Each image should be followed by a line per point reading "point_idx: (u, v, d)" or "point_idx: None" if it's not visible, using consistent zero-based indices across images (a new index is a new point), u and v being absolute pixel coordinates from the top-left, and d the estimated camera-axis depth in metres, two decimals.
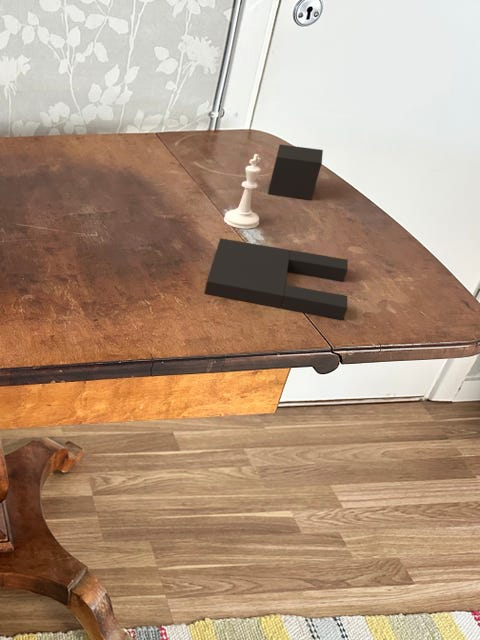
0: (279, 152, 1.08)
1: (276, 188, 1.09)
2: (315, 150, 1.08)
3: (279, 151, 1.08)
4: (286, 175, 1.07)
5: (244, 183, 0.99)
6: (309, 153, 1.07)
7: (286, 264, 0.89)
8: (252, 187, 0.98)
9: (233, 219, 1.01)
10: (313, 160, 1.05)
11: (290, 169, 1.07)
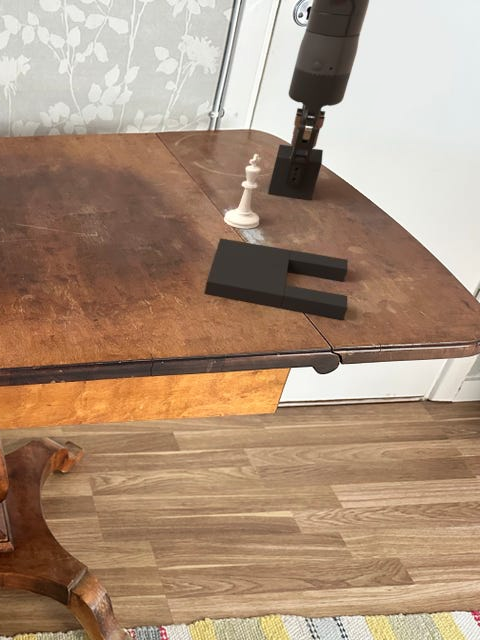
0: (279, 152, 1.08)
1: (276, 188, 1.09)
2: (315, 150, 1.08)
3: (279, 151, 1.08)
4: (286, 175, 1.07)
5: (244, 183, 0.99)
6: None
7: (286, 264, 0.89)
8: (252, 187, 0.98)
9: (233, 219, 1.01)
10: (313, 160, 1.05)
11: None
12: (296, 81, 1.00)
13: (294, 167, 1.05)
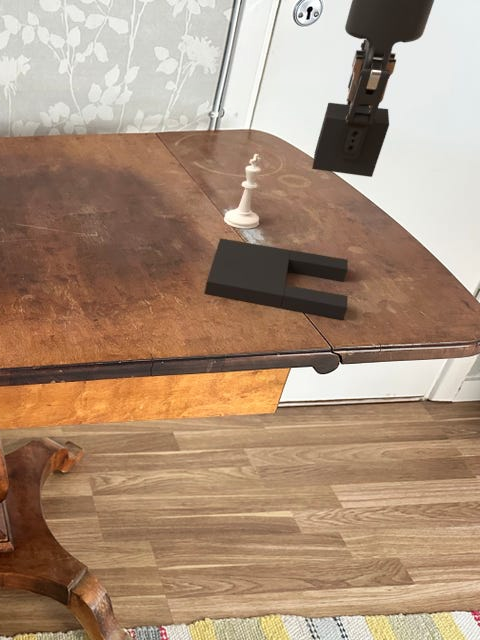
0: (329, 112, 0.79)
1: (324, 161, 0.81)
2: (378, 109, 0.80)
3: (329, 110, 0.80)
4: (338, 143, 0.79)
5: (244, 183, 0.99)
6: None
7: (286, 264, 0.89)
8: (252, 187, 0.98)
9: (233, 219, 1.01)
10: (377, 121, 0.77)
11: None
12: (358, 9, 0.72)
13: (351, 131, 0.76)
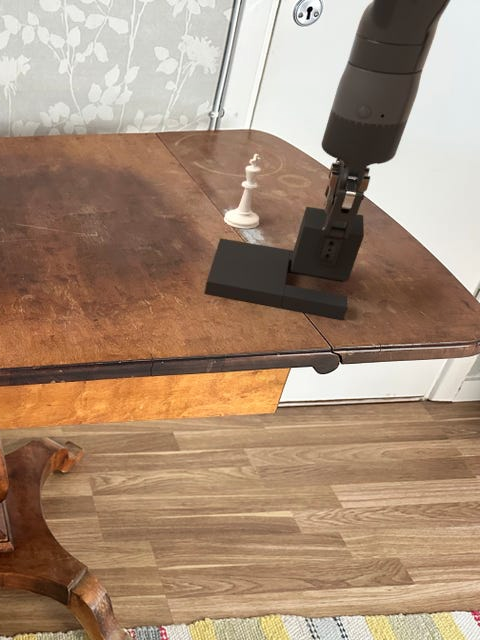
0: (306, 219, 0.82)
1: (302, 265, 0.83)
2: None
3: (306, 217, 0.82)
4: (315, 250, 0.82)
5: (244, 183, 0.99)
6: None
7: (286, 264, 0.89)
8: (252, 187, 0.98)
9: (233, 219, 1.01)
10: (352, 231, 0.80)
11: None
12: (333, 131, 0.75)
13: (328, 241, 0.79)
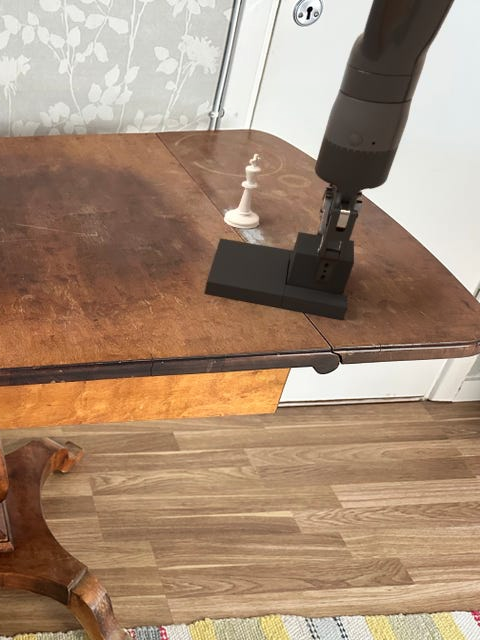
0: (298, 245, 0.84)
1: None
2: None
3: (298, 243, 0.85)
4: (307, 275, 0.84)
5: (244, 183, 0.99)
6: (337, 246, 0.84)
7: (286, 264, 0.89)
8: (252, 187, 0.98)
9: (233, 219, 1.01)
10: None
11: (313, 268, 0.83)
12: (326, 157, 0.76)
13: (323, 262, 0.80)
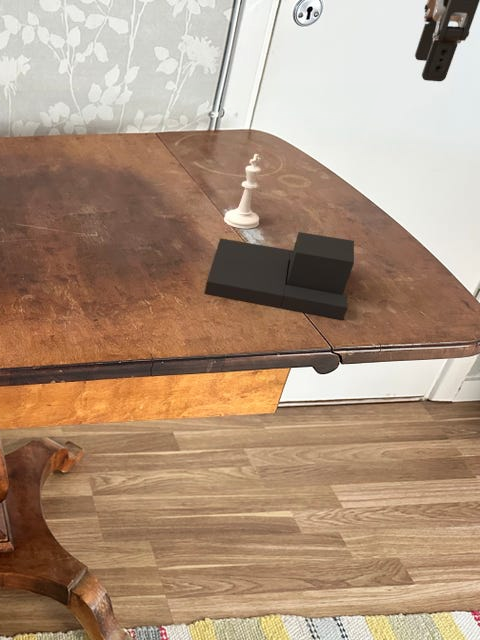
0: (298, 245, 0.84)
1: None
2: (344, 241, 0.85)
3: (298, 243, 0.85)
4: (307, 275, 0.84)
5: (244, 183, 0.99)
6: (337, 246, 0.84)
7: (286, 264, 0.89)
8: (252, 187, 0.98)
9: (233, 219, 1.01)
10: (343, 257, 0.82)
11: (313, 268, 0.83)
12: None
13: (440, 49, 0.71)
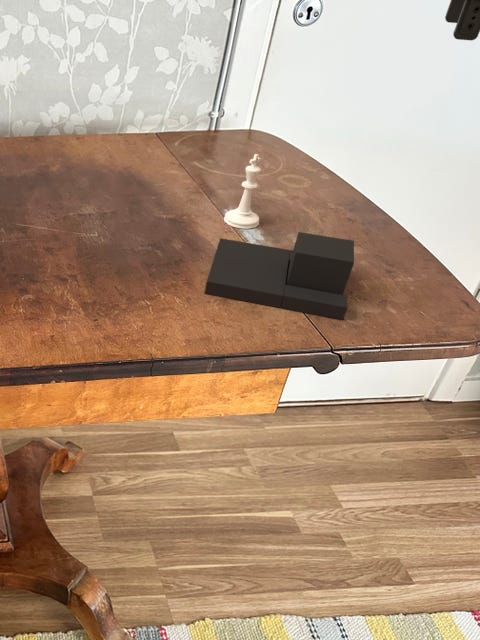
0: (298, 245, 0.84)
1: None
2: (344, 241, 0.85)
3: (298, 243, 0.85)
4: (307, 275, 0.84)
5: (244, 183, 0.99)
6: (337, 246, 0.84)
7: (286, 264, 0.89)
8: (252, 187, 0.98)
9: (233, 219, 1.01)
10: (343, 257, 0.82)
11: (313, 268, 0.83)
12: None
13: (473, 6, 0.71)
